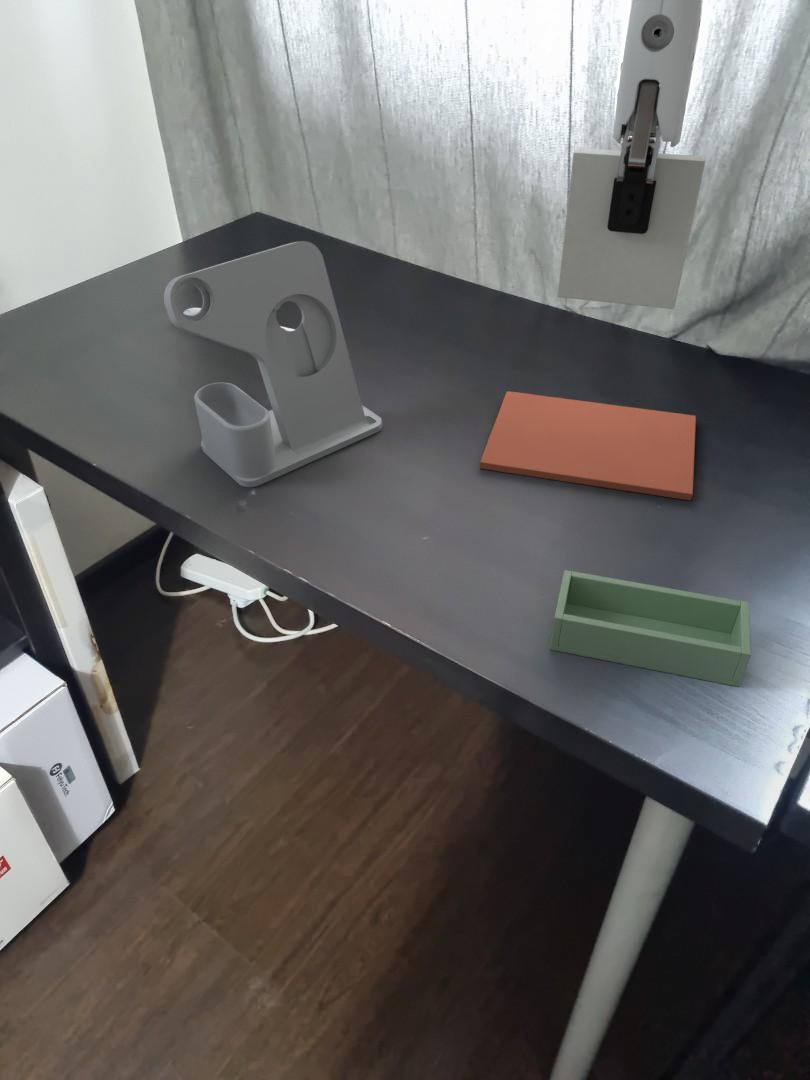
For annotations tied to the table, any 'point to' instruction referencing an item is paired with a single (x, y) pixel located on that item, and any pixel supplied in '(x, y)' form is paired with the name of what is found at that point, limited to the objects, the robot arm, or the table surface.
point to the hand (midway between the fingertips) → (628, 225)
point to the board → (627, 258)
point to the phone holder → (274, 364)
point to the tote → (652, 627)
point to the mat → (594, 445)
